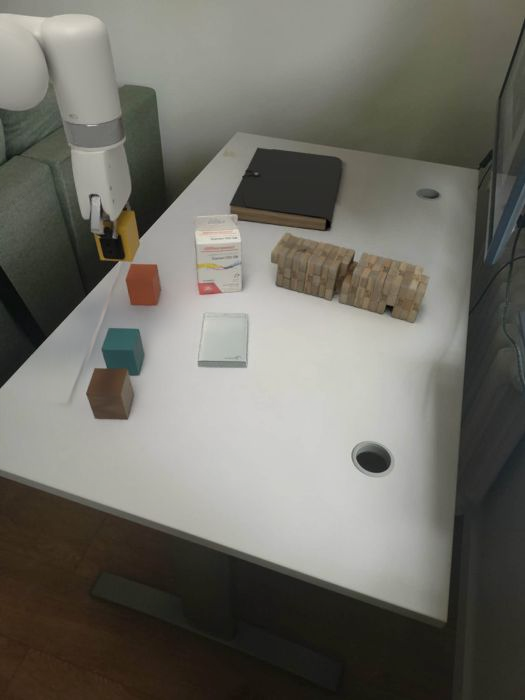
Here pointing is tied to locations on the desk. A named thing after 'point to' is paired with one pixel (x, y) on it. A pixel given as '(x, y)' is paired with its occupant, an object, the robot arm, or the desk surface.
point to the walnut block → (110, 393)
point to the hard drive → (223, 340)
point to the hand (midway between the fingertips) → (119, 246)
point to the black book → (288, 189)
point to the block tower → (349, 276)
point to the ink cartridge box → (218, 254)
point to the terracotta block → (143, 284)
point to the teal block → (123, 349)
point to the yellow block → (124, 235)
